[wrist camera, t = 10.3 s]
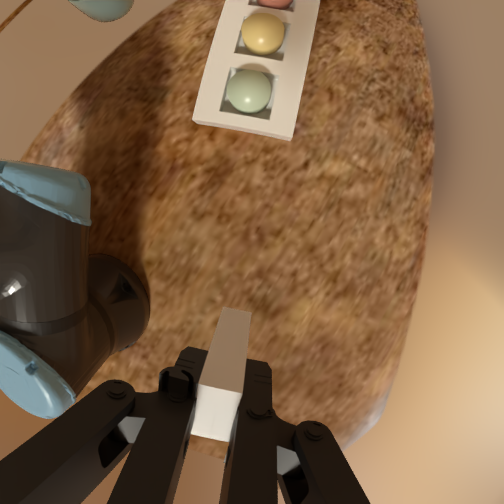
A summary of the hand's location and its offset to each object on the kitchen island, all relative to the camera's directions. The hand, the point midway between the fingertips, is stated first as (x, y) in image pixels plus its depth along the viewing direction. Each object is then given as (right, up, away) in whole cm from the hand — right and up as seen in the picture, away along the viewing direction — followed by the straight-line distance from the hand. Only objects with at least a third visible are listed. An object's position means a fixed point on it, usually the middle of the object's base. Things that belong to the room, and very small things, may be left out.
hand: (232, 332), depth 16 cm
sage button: (+1, +23, +18) cm, 29 cm away
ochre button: (+2, +31, +15) cm, 34 cm away
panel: (+3, +31, +17) cm, 36 cm away
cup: (-20, +42, +16) cm, 49 cm away
